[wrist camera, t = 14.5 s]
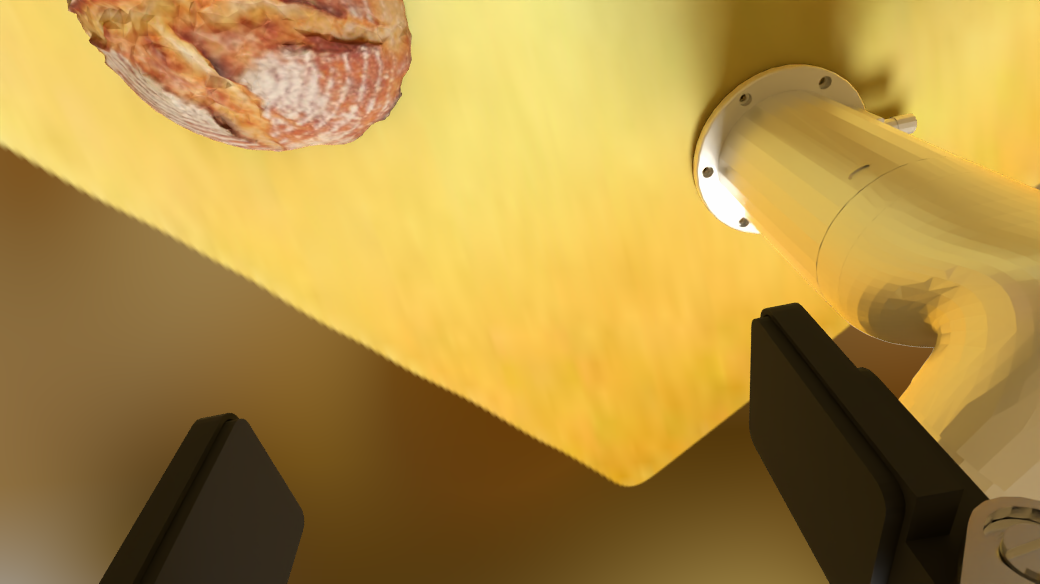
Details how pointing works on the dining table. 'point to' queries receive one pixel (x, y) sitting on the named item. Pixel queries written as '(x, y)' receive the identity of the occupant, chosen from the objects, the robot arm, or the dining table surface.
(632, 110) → the dining table surface
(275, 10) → the bread
